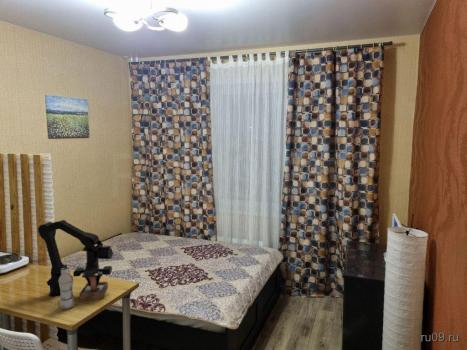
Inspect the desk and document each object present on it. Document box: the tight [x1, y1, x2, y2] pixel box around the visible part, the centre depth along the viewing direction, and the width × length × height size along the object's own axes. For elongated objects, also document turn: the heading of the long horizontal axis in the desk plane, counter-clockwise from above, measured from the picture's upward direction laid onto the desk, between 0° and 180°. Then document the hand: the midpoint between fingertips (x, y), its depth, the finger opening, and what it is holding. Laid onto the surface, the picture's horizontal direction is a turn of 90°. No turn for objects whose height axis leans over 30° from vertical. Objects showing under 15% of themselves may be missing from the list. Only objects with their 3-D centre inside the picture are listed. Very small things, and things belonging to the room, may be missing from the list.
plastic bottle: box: [58, 267, 75, 310], centre depth 168 cm, size 6×7×20 cm
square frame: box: [79, 281, 109, 301], centre depth 183 cm, size 11×13×4 cm
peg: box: [90, 274, 97, 292], centre depth 182 cm, size 3×3×9 cm
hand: (93, 286), depth 183 cm, fingers closed on peg, 3 cm apart
